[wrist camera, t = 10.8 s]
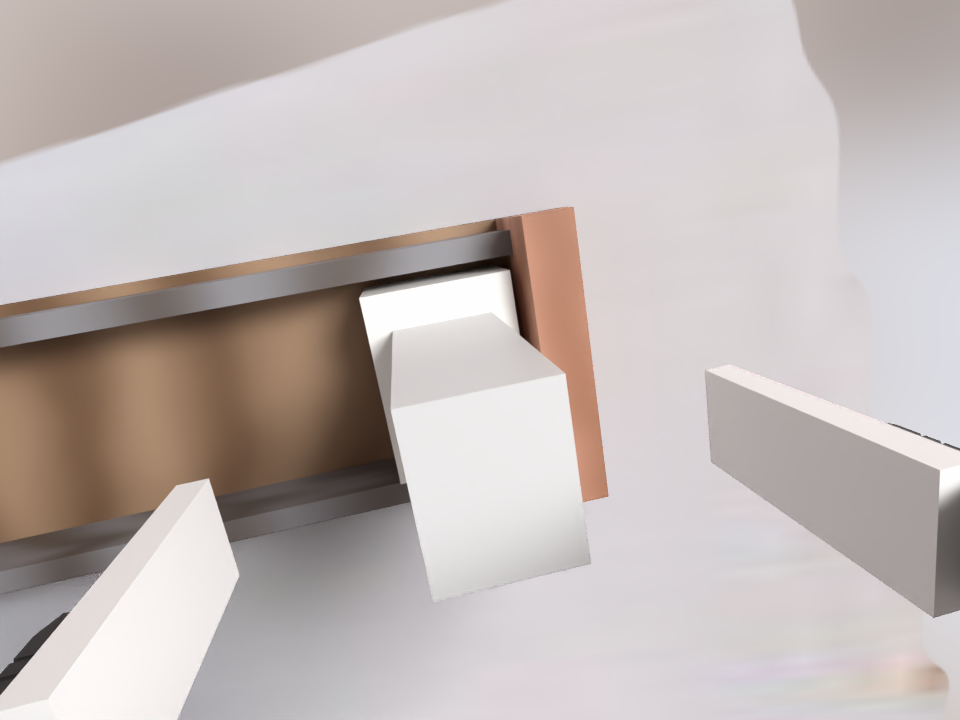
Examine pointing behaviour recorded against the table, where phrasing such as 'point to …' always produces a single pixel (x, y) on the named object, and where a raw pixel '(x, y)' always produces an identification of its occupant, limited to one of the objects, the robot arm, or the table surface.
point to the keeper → (476, 431)
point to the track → (244, 390)
